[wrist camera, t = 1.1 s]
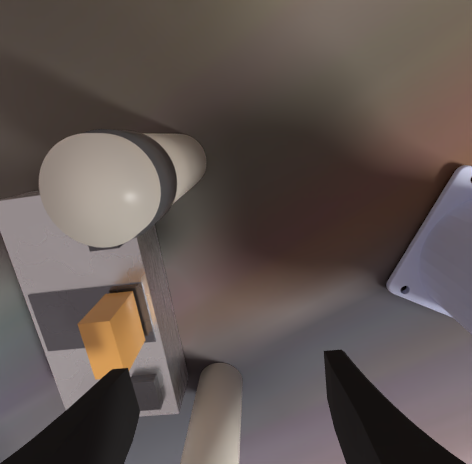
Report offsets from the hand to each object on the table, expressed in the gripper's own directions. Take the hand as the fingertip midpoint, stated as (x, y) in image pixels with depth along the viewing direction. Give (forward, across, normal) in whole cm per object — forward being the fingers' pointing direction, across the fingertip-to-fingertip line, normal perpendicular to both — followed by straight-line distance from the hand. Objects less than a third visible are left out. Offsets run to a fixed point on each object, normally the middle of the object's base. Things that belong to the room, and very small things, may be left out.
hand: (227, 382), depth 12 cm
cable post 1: (+9, +2, -8) cm, 12 cm away
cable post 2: (+9, +2, +8) cm, 12 cm away
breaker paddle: (+5, +6, 0) cm, 8 cm away
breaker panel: (+9, +8, 0) cm, 12 cm away
